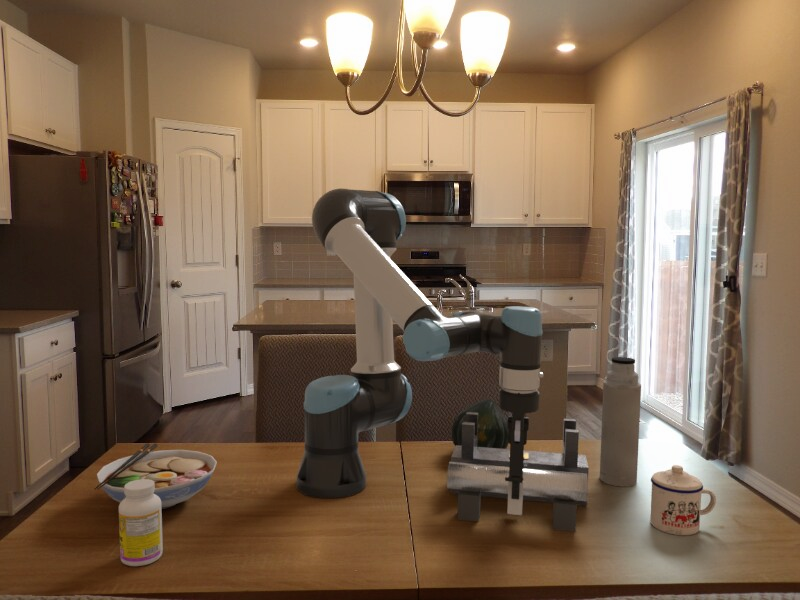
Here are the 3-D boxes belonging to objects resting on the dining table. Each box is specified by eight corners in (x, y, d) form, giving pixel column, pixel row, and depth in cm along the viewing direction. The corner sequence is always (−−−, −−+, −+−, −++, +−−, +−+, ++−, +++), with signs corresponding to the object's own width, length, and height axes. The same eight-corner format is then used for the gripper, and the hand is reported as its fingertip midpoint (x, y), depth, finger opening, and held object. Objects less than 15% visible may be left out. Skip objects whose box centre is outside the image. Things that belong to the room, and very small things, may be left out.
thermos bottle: (596, 473, 150) (601, 354, 147) (631, 474, 149) (637, 355, 146) (603, 485, 142) (608, 360, 139) (640, 487, 141) (646, 361, 139)
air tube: (446, 492, 123) (447, 467, 123) (450, 482, 128) (450, 457, 128) (586, 506, 118) (588, 479, 118) (584, 494, 123) (586, 469, 123)
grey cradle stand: (449, 495, 136) (451, 423, 134) (455, 478, 145) (456, 411, 144) (587, 507, 130) (590, 433, 129) (583, 489, 140) (586, 419, 138)
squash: (433, 436, 158) (473, 396, 154) (452, 423, 172) (489, 385, 167) (473, 481, 155) (516, 440, 150) (489, 464, 168) (529, 426, 164)
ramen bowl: (191, 532, 117) (190, 489, 116) (69, 528, 118) (68, 485, 118) (234, 481, 142) (233, 445, 141) (133, 478, 143) (132, 442, 143)
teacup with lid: (659, 536, 118) (662, 474, 117) (641, 515, 127) (644, 458, 126) (725, 537, 118) (729, 475, 117) (702, 516, 127) (706, 458, 126)
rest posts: (457, 519, 124) (458, 494, 123) (460, 511, 128) (460, 486, 127) (575, 531, 119) (576, 505, 119) (574, 522, 123) (575, 497, 123)
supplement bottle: (128, 549, 111) (125, 476, 110) (167, 548, 111) (165, 476, 110) (114, 568, 104) (111, 492, 103) (156, 567, 105) (154, 491, 104)
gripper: (540, 401, 112) (535, 530, 114) (539, 379, 129) (535, 491, 132) (496, 399, 113) (492, 525, 115) (501, 377, 131) (498, 487, 133)
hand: (515, 507), depth 124 cm, fingers closed on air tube, 5 cm apart
